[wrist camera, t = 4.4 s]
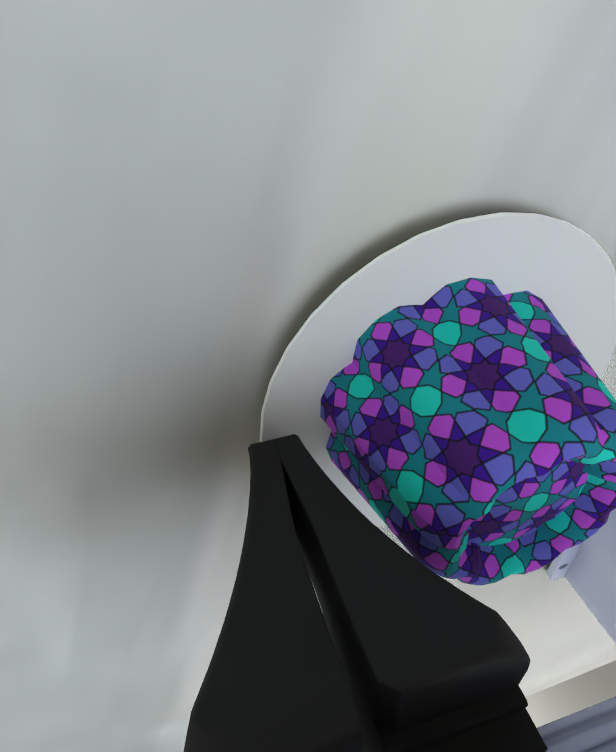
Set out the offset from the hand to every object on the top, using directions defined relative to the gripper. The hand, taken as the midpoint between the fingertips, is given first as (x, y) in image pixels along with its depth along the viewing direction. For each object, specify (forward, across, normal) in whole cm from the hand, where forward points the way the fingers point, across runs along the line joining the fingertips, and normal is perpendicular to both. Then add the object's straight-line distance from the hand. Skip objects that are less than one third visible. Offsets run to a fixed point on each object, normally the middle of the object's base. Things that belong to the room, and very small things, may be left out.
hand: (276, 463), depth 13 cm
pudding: (+2, -6, 0) cm, 6 cm away
